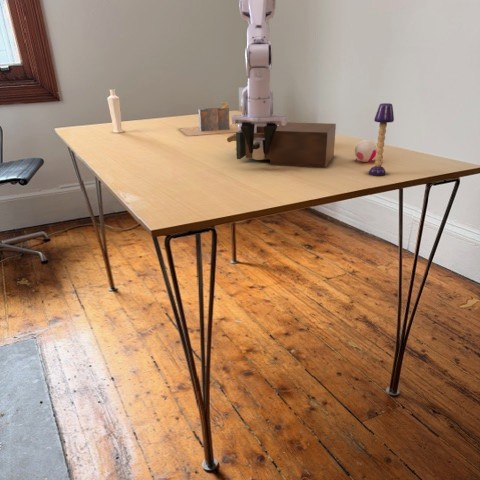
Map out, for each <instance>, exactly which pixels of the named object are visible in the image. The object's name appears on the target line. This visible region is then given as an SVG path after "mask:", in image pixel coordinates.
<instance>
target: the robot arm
mask: <svg viewBox="0 0 480 480" xmlns="http://www.w3.org/2000/svg"><path fill="white" fill-rule="evenodd" d="M276 2H277V0H238V5H239V7H238V8H239V15H240V18H241V19H242V20H244V21H246V22H247V25H248V26H247V28H246V29H247V30H246V42H247V43H246V46H245V69H246V78H247V85H246V86H245V87H244V88H243V89H242V92H241V114H234V115H232V116H231V125H238V131H240V130H241V131H242V132H243V134H244V136H245V139H246V142H247V145H248V149H249V153H252V139H253V138H254V133H257V126H264V135H265V154H268V153H269V150H270V145H271V141H272V138H273V136H274V133H275V131H276V129H277V126H279V125H282V126H285V125H286V124H287V122H288V116H286V115H285V116H283V115H274V92H273V89H272V88H271V70H272V68H273V45H272V42H271V35H270V27H269V25H268V23H267V22H268V21H269V20H272V19H273V18H274V16H275V10H276Z"/></svg>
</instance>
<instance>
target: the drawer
mask: <svg viewBox="0 0 480 480" xmlns="http://www.w3.org/2000/svg"><path fill="white" fill-rule="evenodd" d="M254 138H265V135H264V126H257V133H254ZM226 141H227V142H228V143H231V142H235V146H236V148H235V150H236V152H235V153H236V160H242V159H243V158H245V159H252V153H249V149H248V145H247V142H246V139H245V136H244V134H243V132H242V131H241V130H240V131H238V132H235V133H234V134H232V135H230V136H228V137H227V139H226ZM265 160H270V150H269V153H268V154H266V159H265Z"/></svg>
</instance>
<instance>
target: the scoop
mask: <svg viewBox="0 0 480 480" xmlns="http://www.w3.org/2000/svg"><path fill="white" fill-rule="evenodd" d="M251 159H252V160H255V161H262V160H263V161H264V160H267V159H266V154H265V138H253V139H252V158H251Z"/></svg>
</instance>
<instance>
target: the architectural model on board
mask: <svg viewBox="0 0 480 480" xmlns="http://www.w3.org/2000/svg"><path fill="white" fill-rule="evenodd" d="M198 123H199V127H187V128H179V130H180V132H182V133H183V134H184V135H186V136H187V137H191V136H192V137H193V136H204V135H216V134H229V133H230V134H231V133H236V132H238V125H239V124H230V108H229V105H228V102H227V101H225V102H222V101H221V102H220V107H209V108H204V109H200V108H198Z"/></svg>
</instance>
